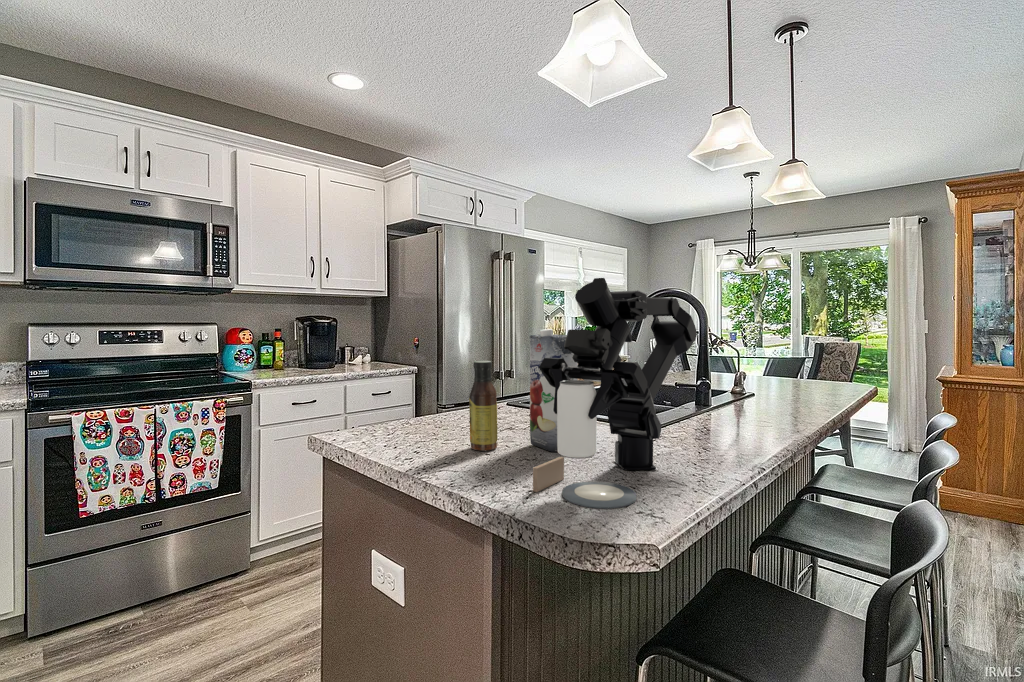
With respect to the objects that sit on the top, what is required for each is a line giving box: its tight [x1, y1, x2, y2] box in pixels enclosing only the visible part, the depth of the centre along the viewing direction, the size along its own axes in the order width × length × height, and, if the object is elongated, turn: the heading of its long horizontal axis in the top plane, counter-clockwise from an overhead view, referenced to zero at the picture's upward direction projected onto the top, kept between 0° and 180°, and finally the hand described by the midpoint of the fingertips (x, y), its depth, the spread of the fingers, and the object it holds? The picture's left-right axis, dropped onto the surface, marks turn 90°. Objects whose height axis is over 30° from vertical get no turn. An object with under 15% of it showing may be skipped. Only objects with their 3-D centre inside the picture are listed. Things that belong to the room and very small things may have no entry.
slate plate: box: [561, 480, 637, 509], centre depth 86 cm, size 12×12×1 cm
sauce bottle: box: [468, 360, 499, 452], centre depth 117 cm, size 6×6×20 cm
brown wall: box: [532, 456, 565, 493], centre depth 91 cm, size 9×1×4 cm, turn 144°
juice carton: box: [529, 328, 579, 453], centre depth 119 cm, size 9×10×27 cm
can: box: [557, 379, 598, 460], centre depth 86 cm, size 6×6×12 cm
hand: (572, 414), depth 85 cm, fingers closed on can, 6 cm apart
